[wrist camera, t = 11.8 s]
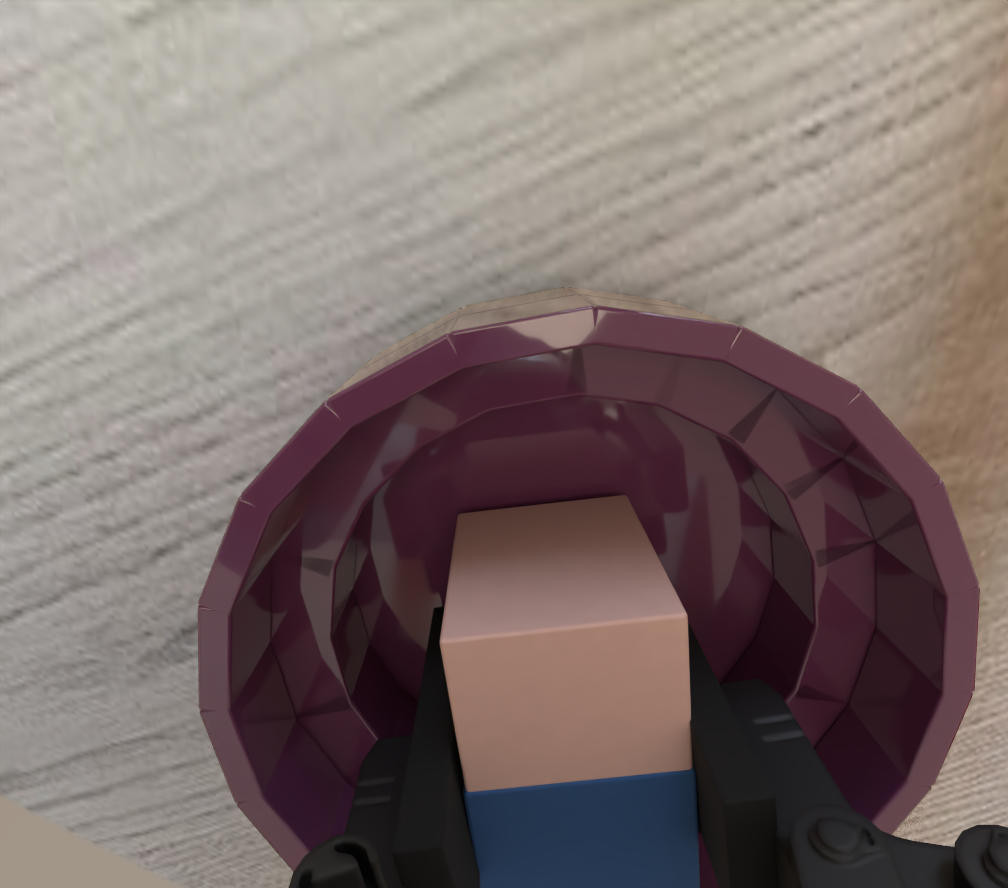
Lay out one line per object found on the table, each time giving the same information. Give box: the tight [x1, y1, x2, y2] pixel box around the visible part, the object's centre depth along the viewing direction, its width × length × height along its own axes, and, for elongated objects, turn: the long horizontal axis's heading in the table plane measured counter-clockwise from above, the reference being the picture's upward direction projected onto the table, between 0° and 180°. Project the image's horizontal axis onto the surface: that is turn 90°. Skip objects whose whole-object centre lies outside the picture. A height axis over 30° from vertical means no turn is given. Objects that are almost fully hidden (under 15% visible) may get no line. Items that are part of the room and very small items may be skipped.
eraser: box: [440, 495, 700, 888], centre depth 14 cm, size 4×7×5 cm, turn 7°
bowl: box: [198, 287, 980, 888], centre depth 14 cm, size 14×14×5 cm
